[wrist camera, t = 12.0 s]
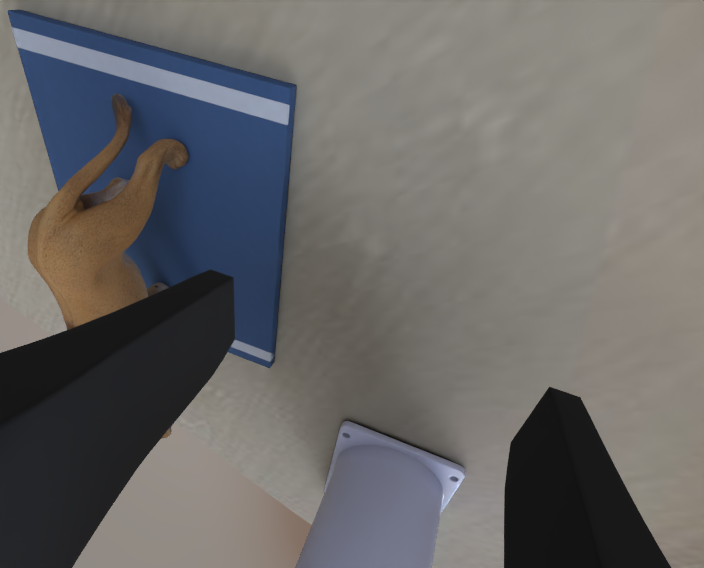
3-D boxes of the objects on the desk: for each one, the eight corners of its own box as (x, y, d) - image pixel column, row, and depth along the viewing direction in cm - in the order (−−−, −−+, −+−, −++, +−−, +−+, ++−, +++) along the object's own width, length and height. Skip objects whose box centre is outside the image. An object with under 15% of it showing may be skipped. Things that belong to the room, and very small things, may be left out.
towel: (274, 361, 26) (269, 369, 26) (95, 293, 28) (88, 298, 28) (297, 84, 16) (290, 88, 16) (19, 9, 18) (5, 10, 18)
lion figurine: (246, 355, 26) (142, 494, 19) (173, 340, 27) (52, 463, 20) (176, 90, 17) (-60, 162, 10) (76, 90, 19) (-186, 154, 12)
